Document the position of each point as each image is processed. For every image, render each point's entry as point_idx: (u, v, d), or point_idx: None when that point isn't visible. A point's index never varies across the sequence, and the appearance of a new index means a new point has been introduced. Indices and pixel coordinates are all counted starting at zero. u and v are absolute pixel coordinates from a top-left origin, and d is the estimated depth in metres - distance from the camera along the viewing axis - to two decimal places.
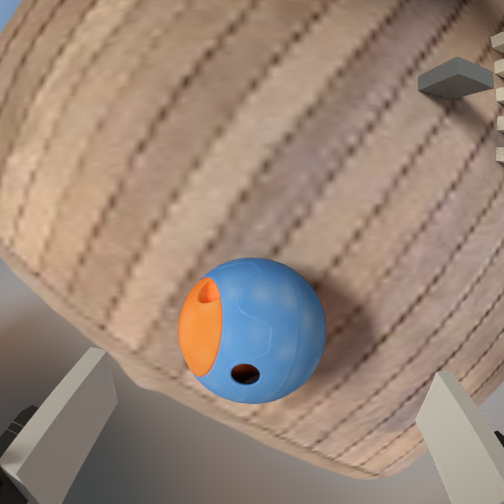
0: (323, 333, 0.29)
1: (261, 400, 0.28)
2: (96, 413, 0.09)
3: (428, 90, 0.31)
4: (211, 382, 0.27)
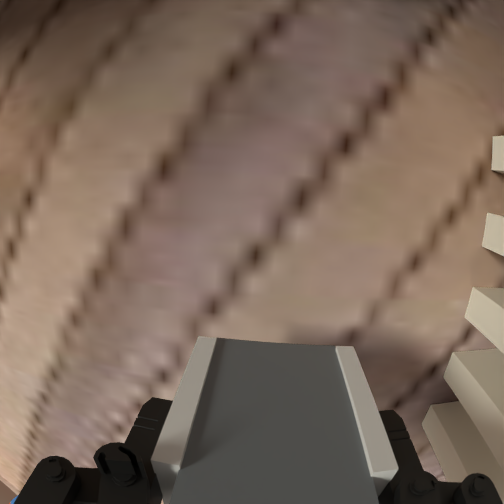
0: None
1: None
2: None
3: None
4: None
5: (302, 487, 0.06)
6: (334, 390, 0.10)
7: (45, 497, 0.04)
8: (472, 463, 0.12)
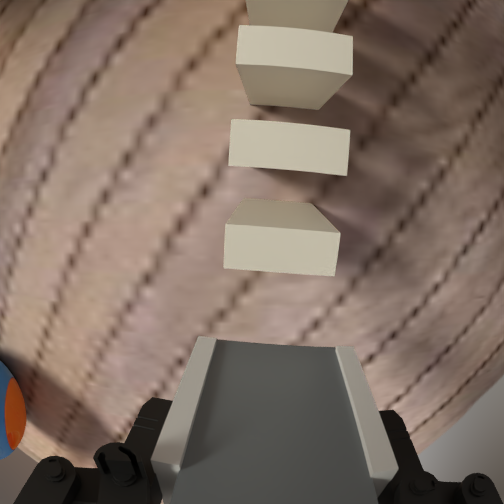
0: None
1: None
2: None
3: None
4: None
5: (302, 490, 0.06)
6: (334, 392, 0.10)
7: (45, 497, 0.04)
8: (248, 211, 0.17)
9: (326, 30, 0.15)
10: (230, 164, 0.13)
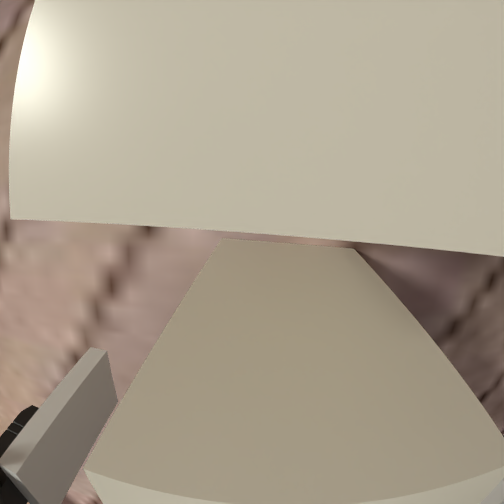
0: None
1: None
2: (96, 413, 0.09)
3: None
4: None
5: None
6: None
7: None
8: (211, 318, 0.06)
9: None
10: (16, 210, 0.02)
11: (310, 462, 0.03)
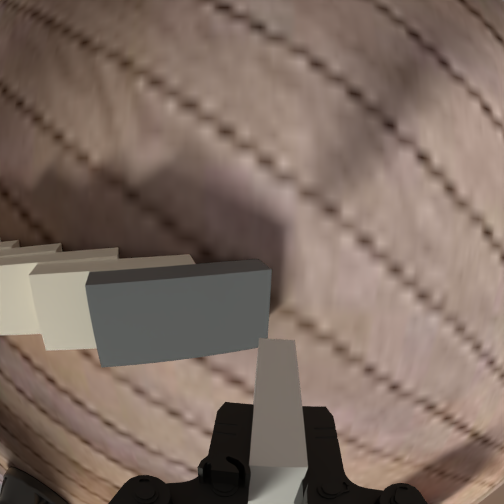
0: None
1: None
2: None
3: (249, 337, 0.18)
4: None
5: None
6: None
7: None
8: None
9: None
10: None
11: None
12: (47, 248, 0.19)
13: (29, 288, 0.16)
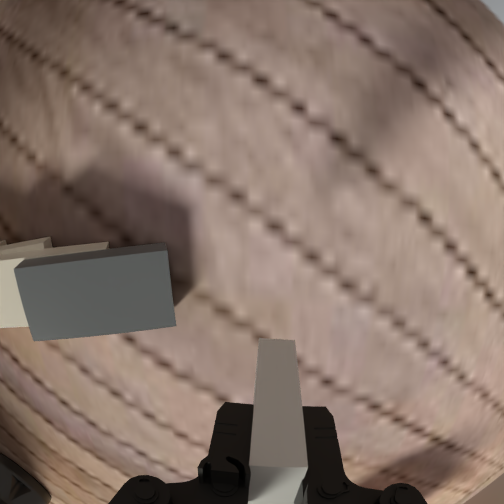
0: None
1: None
2: None
3: (156, 316, 0.19)
4: None
5: None
6: None
7: None
8: None
9: None
10: None
11: None
12: None
13: None
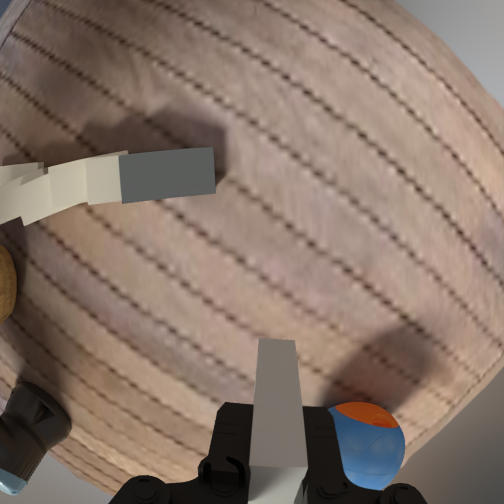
0: (354, 437, 0.32)
1: (390, 477, 0.30)
2: None
3: (204, 186, 0.33)
4: None
5: None
6: None
7: None
8: None
9: (13, 183, 0.32)
10: None
11: None
12: None
13: (77, 174, 0.31)
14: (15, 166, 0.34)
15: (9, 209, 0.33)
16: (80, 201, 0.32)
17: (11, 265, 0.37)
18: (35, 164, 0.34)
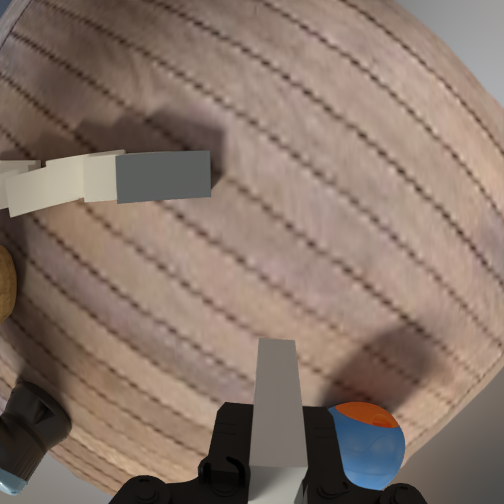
0: (354, 437, 0.32)
1: (390, 477, 0.30)
2: None
3: (199, 189, 0.33)
4: None
5: None
6: None
7: None
8: None
9: (5, 174, 0.33)
10: None
11: None
12: None
13: (73, 170, 0.32)
14: (13, 162, 0.34)
15: (1, 198, 0.34)
16: (75, 197, 0.32)
17: (11, 265, 0.37)
18: (32, 162, 0.34)
